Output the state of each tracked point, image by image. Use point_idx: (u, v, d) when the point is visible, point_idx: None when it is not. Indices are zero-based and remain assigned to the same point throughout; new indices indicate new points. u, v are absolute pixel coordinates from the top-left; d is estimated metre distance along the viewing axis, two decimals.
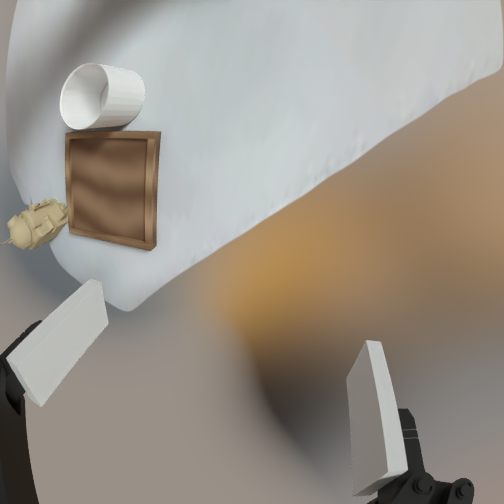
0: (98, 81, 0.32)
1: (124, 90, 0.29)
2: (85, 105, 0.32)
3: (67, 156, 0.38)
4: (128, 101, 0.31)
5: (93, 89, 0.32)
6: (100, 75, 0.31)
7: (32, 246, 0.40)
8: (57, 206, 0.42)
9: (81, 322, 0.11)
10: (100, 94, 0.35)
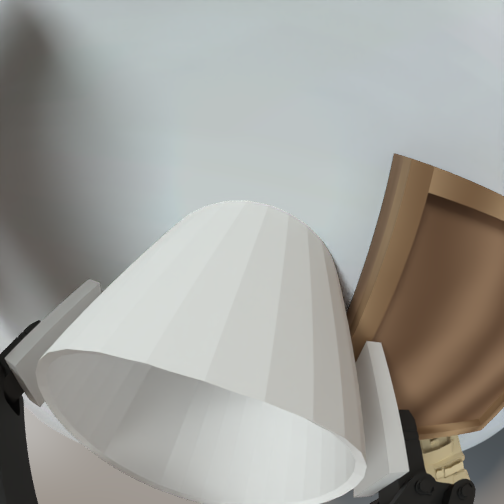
0: None
1: (204, 257, 0.07)
2: (240, 405, 0.12)
3: None
4: (269, 247, 0.08)
5: None
6: None
7: None
8: (432, 453, 0.16)
9: None
10: None
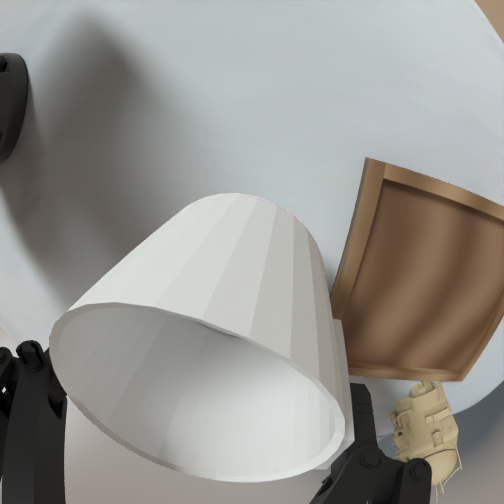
0: (170, 336, 0.14)
1: (202, 236, 0.08)
2: (233, 384, 0.13)
3: (353, 370, 0.23)
4: (257, 230, 0.09)
5: (192, 353, 0.15)
6: (150, 330, 0.13)
7: (455, 448, 0.19)
8: (420, 398, 0.23)
9: None
10: (213, 334, 0.17)
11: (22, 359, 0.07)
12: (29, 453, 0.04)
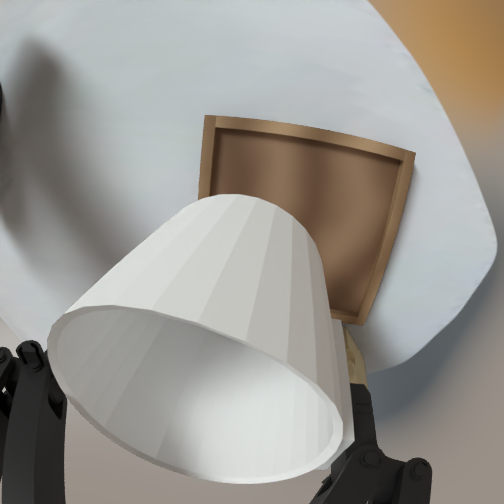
0: (169, 337, 0.14)
1: (200, 237, 0.08)
2: (232, 386, 0.13)
3: None
4: (255, 231, 0.09)
5: (191, 355, 0.14)
6: (149, 331, 0.13)
7: None
8: None
9: None
10: (212, 335, 0.17)
11: (22, 359, 0.07)
12: (29, 453, 0.04)
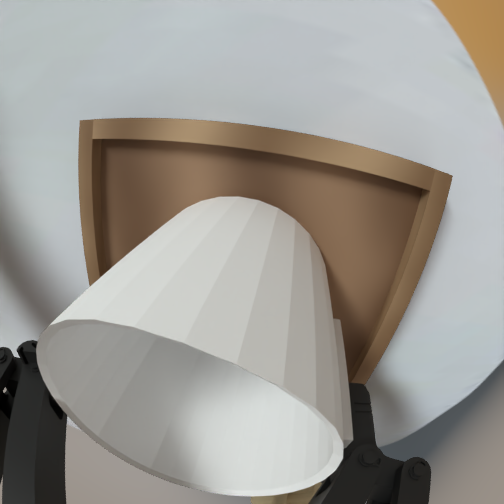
0: (167, 344, 0.14)
1: (194, 244, 0.07)
2: (231, 394, 0.13)
3: None
4: (254, 237, 0.09)
5: (189, 361, 0.14)
6: (146, 337, 0.13)
7: None
8: None
9: None
10: None
11: (23, 359, 0.07)
12: (30, 454, 0.04)
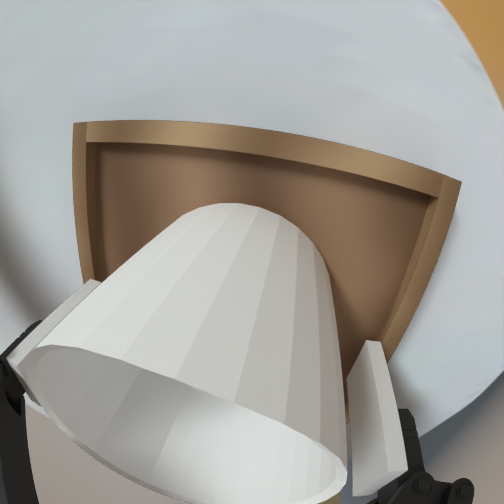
0: None
1: (189, 259, 0.07)
2: (231, 407, 0.12)
3: None
4: (255, 250, 0.08)
5: None
6: None
7: None
8: None
9: None
10: None
11: None
12: None
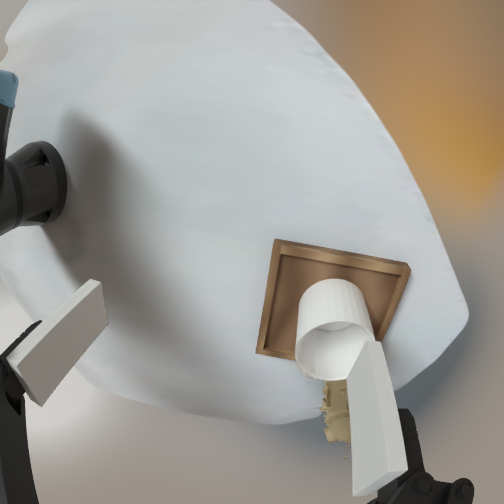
0: None
1: (341, 302, 0.30)
2: (332, 349, 0.35)
3: (282, 355, 0.41)
4: (351, 298, 0.31)
5: (314, 339, 0.36)
6: None
7: None
8: None
9: (81, 322, 0.11)
10: (317, 331, 0.38)
11: None
12: None
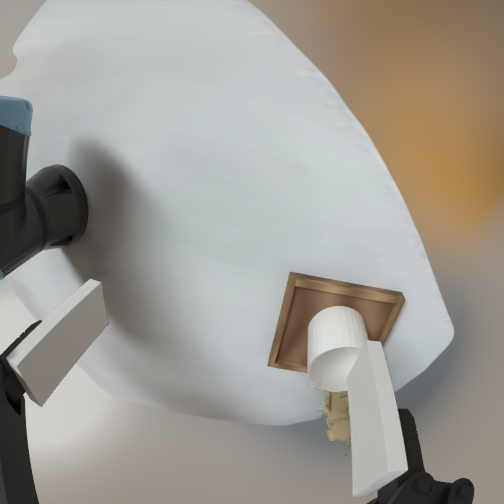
0: None
1: (346, 329, 0.35)
2: (335, 364, 0.40)
3: (291, 367, 0.46)
4: (354, 324, 0.36)
5: (320, 355, 0.41)
6: None
7: None
8: None
9: (81, 322, 0.11)
10: None
11: None
12: None
